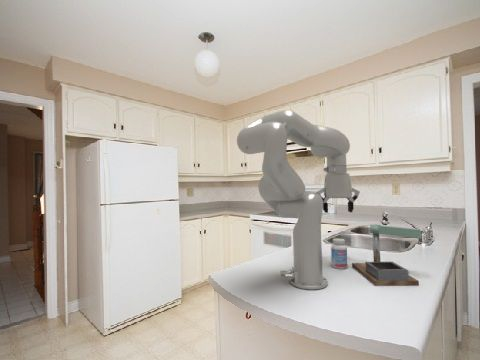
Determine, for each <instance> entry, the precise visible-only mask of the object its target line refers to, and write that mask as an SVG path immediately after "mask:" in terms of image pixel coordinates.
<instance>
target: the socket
mask: <svg viewBox="0 0 480 360" xmlns="http://www.w3.org/2000/svg"><path fill="white" fill-rule="evenodd" d="M364 263H366V272H367V273H368V274H370V275H371V276H372V277H374V278H375V279H376V280H378V281H408V275H409V270H408V269H407V268H405V267H403V266H401V265H400V264H398V263H396V262H394V261H380V262H374V261H365V262H364Z"/></svg>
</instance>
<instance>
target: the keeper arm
mask: <svg viewBox="0 0 480 360" xmlns="http://www.w3.org/2000/svg"><path fill="white" fill-rule="evenodd" d="M369 231H370V233H371V234H373V233H374V234H379V235H385V236H386V235H387V236H394V237H395V236H396V237H403V238H413V239H421V238H422V232H421V231H422V230H421V228H414V227H413V228H412V227H403V226H393V225H383V224H376V223H375V224H373V223H372V224H370V225H369Z"/></svg>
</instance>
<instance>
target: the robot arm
mask: <svg viewBox="0 0 480 360" xmlns="http://www.w3.org/2000/svg"><path fill="white" fill-rule="evenodd" d="M288 140H289V141H291V142H293V143H295V144H296V145H297V146H300V147H304V148H310V152H311V154H312V155H313V156H314V157H315V158H318V159H323V158H326V166H325V167H323V172H326V174H325V176H324V184H323V186H324V187H323V188H321V189H319V190H318V191H316V192H315V191H310V190H308V191H307V190H306V186H305V184H304V181H303V179H302V178H301V177H300V175H299V174H298V173H297V172H296V170H295V169H294V168H293V166H292V165H291V164H290V162H289V160H288V158H287V149H288V148H287V145H288ZM236 144H237V147H238V149H239V150H240V152H242V153H243V154H246V155H255V154H260V153H261V154H262V153H263V160H262V165H261V171H262V176H261V178H260V179H259V182H258V188H257V189H258V192H259V195H260V197H261V198H262V200H263V201H264V202H265V203H266V205H268V206H269V207H270V208H271V210H273V211H274V212H275V213H276V214H277V215H279V216H281V217H283V218H290V219H292V218H293V219H297V221H296V223H295V225H294V226H293V229H292V244H293V246H292V247H293V266H292V269H289V270H280V277H284V278H285V279H289V283H290V284H291V285H292V286H294V287H296V288H299V289H302V290H309V291H310V290H321V289H324V288H326V287H327V286H328V284H329V283H328V279H327V278H326V277H324V276H323V273H324V272H323V251H322V250H323V247H322V246H323V245H322V219H323V212H324V213H325V214H327V213H329V204H328V201H329V199H346V200H347V201H348V202H347V211H348V212H349V213H353V211H354V203H355V201H356V200H357V199H358V198H359V195H360V193H361V192H360V191H359V190H357V189H355V188H353V187H352V180H351V176H350V173H348V172H347V154H348V153H349V151H350V147H351V143H350V140H349V139H348V137H347V136H346V135H345V134H344V133H343V132H341V131H340V130H339V129H337V128H334V127H329V126H323V125H318V124H314V123H311V122H310V121H308V120H307V119H305V118H304V117H303V116H301V115H300V114H298V113H297V112H295V111H293V110H291V109H284V110H280V111H276V112H273V113H269V114H267V115H264V116H261V117H260V118H259V119H257V120H254V122H252V123H250V124H248V125H246V126H244V127H243V128H242V129H241V130H240V131H239V132H238V134H237V138H236ZM353 193H354V194H353ZM321 194H324V197H322V195H321Z"/></svg>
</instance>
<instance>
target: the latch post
mask: <svg viewBox="0 0 480 360" xmlns="http://www.w3.org/2000/svg"><path fill="white" fill-rule="evenodd" d="M380 238H381V237H380V234H374V233H372V252H373V254H372V255H373V256H372V257H373V262H381V245H380V244H381V241H380Z"/></svg>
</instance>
